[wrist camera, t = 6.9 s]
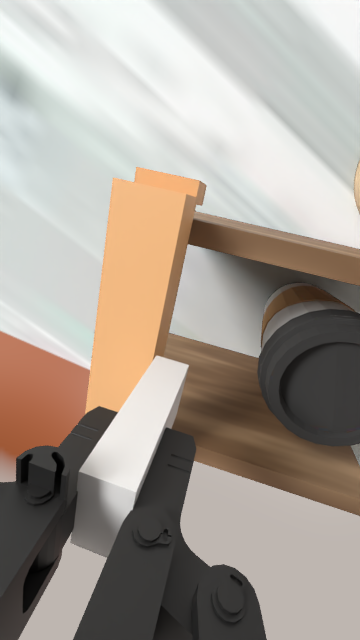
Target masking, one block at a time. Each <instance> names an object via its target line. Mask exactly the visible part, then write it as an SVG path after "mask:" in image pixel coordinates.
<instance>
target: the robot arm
mask: <svg viewBox="0 0 360 640" xmlns="http://www.w3.org/2000/svg"><path fill="white" fill-rule="evenodd" d="M188 367H189V365H187V364H184V363H180V362H177V361H174V360H170V359H167V358H164V357H160V356H157V355H156V357H155V358H154V360H153V361H152V363H151V364H150V366H149V367H148V369H147V370H146V372H145V373H144V375H143V376H142V378H141V379H140V381H139V382H138V384H137V385H136V387H135V388H134V390H133V391H132V393H131V394H130V396H129V397H128V399H127V400H126V402H125V403H124V405H123V406H122V408H121V409H120V410H119V412H116V411H113V410H110V409H107V408H104V407H101V406H98V407H96V408H95V409H93V410H91V411H89V412H87V413H86V414H85V416H84V417H83V418H82V419H81V420H80V421H79V423H78V425H76V426H75V428H74V429H73V430H72V431H71V433H70V434H69V435H68V436H67V437H66V438H65V440H64V441H63V442H62V443H61V444H60V446H59V447H53V446H39V447H35V448H32V449H29V450H27V451H25V452H24V453H22V454H21V455H20V456H19V457H17V459H16V481H15V482H4V483H3V482H0V640H18V639H19V637H20V635H21V633H22V631H23V629H24V628H25V626H26V624H27V622H28V620H29V618H30V617H31V615H32V613H33V611H34V609H35V607H36V606H37V604H38V602H39V600H40V598H41V596H42V595H43V593H44V591H45V589H46V587H47V585H48V583H49V582H50V580H51V578H52V576H53V575H54V573H55V571H56V569H57V567H58V565H59V562H60V559H61V555H62V548H63V546H64V545H65V543H66V541H67V539H68V538H69V536H70V534H71V532H72V534H71V543H72V544H74V545H77V546H79V547H82V548H85V549H87V550H89V551H92V552H94V553H97V554H99V555H102V556H104V557H107V560H106V563H105V565H104V568H103V570H102V572H101V575H100V577H99V580H98V582H97V584H96V587H95V589H94V592H93V594H92V596H91V599H90V601H89V603H88V606H87V608H86V610H85V613H84V615H83V617H82V620H81V622H80V624H79V627H78V629H77V632H76V634H75V637H74V639H73V640H267V639H266V634H265V630H264V625H263V620H262V615H261V610H260V605H259V602H258V599H257V596H256V593H255V590H254V588H253V587H252V586H251V584H250V582H249V581H248V580H247V578H246V577H245V576H244V575H243V574H241V573H240V572H239V571H238V570H236V569H235V568H233V567H230V566H227V565H224V564H223V565H215V566H212V567H210V566H208V565H207V564H206V563H205V562H204V561H202V560H201V559H200V558H199V557H198V556H196V555H195V554H194V553H193V552H192V551H191V550H190V549H189V547H188V546H187V544H186V543H185V541H184V538H183V536H182V533H181V529H180V517H181V512H182V508H183V504H184V500H185V495H186V491H187V487H188V483H189V479H190V474H191V470H192V466H193V462H194V457H195V453H196V445H195V441H194V437H193V436H191V435H188V434H185V433H182V432H179V431H176V430H173V429H171V428H172V426H173V423H174V420H175V418H176V415H177V411H178V407H179V403H180V399H181V395H182V391H183V387H184V383H185V379H186V375H187V371H188Z"/></svg>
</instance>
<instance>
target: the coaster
mask: <svg viewBox="0 0 360 640" xmlns="http://www.w3.org/2000/svg"><path fill="white" fill-rule="evenodd" d="M354 196H355V201H356V206H357V208H358V211H359V213H360V160H359V163H358V166H357V169H356V174H355V179H354Z"/></svg>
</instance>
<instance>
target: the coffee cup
mask: <svg viewBox="0 0 360 640" xmlns="http://www.w3.org/2000/svg"><path fill="white" fill-rule="evenodd" d="M261 349H262V351H261V354H260V356H259V361H258V369H257V375H258V380H259V386H260V389H261V392H262V396H263V398H264V400H265V402H266V404H267V406H268V408H269V410H270V411H271V412H272V413H273V414H274V415H275V417H276V418H277V419H278V420H279V421H280V422H281V423H282V424H283V425H284V426H285V428H286V429H287V430H289V431H290V432H292V433H294V434H295V435H297V436H298V437H300V438H302V439H304V440H307V441H310V442H312V443H315V444H321V445H327V446H351V445H355V444H359V443H360V314H359V313H356V312H355V311H354V310H353V309H352V308H350V307H349V306H347V305H346V304H344V303H343V302H341V301H340V300H338V299H337V298H335V297H334V296H332V295H330V294H329V293H327V292H326V291H324V290H322V289H319V288H318V287H316V286H314V285H311V284H308V283H292V284H288V285H285V286H283V287H281V288H279V289H278V290H276V291H275V292H274V293H273V294H272V295H271V296H270V298H269V299H268V300H267V303H266V305H265V308H264V316H263V323H262V335H261Z"/></svg>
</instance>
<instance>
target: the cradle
mask: <svg viewBox="0 0 360 640" xmlns="http://www.w3.org/2000/svg"><path fill="white" fill-rule="evenodd" d="M188 244H190V245H194V246H198V247H202V248H206V249H211V250H215V251H219V252H223V253H227V254H231V255H235V256H239V257H243V258H247V259H252V260H256V261H260V262H264V263H268V264H272V265H276V266H280V267H284V268H288V269H293V270H297V271H301V272H305V273H309V274H313V275H317V276H321V277H325V278H329V279H334V280H338V281H342V282H346V283H350V284H354V285H358V286H360V249H357V248H352V247H348V246H344V245H339V244H335V243H330V242H326V241H322V240H317V239H313V238H309V237H304V236H300V235H296V234H291V233H287V232H283V231H278V230H274V229H270V228H265V227H261V226H256V225H252V224H248V223H243V222H239V221H235V220H230V219H226V218H222V217H217V216H213V215H209V214H204V213H200V212H196V211H195V212H194V217H193V222H192V226H191V231H190V235H189V240H188ZM163 357H164V358H167V359H170V360H174V361H177V362H180V363H184V364H187V365H189V367H188V371H187V375H186V379H185V383H184V387H183V391H182V395H181V399H180V403H179V407H178V411H177V415H176V418H175V420H174V423H173V426H172V428H171V429H173V430H176V431H179V432H182V433H185V434H188V435H191V436H193V437H194V441H195V445H196V453H195V457H194V461H197V462H200V463H203V464H206V465H209V466H212V467H215V468H218V469H221V470H224V471H227V472H230V473H233V474H236V475H239V476H242V477H245V478H248V479H251V480H254V481H257V482H260V483H263V484H266V485H269V486H272V487H275V488H278V489H281V490H284V491H287V492H290V493H293V494H296V495H299V496H302V497H305V498H308V499H311V500H314V501H317V502H320V503H323V504H326V505H329V506H332V507H335V508H338V509H341V510H344V511H347V512H350V513H353V514H356V515H359V516H360V466H359V464H358V462H357V459H356V457H355V455H354V453H353V450H352V448H351V446H327V445H321V444H315V443H312V442H310V441H307V440H304V439H302V438H300V437H298V436H297V435H295V434H294V433H292V432H290V431H289V430H287V429H286V428H285V426H284V425H283V424H282V423H281V422H280V421H279V420H278V419H277V418H276V417H275V415H274V414H273V413H272V412H271V411H270V410H269V408H268V406H267V404H266V402H265V400H264V398H263V396H262V392H261V389H260V386H259V380H258V375H257V369H258V361H259V358H256V357H252V356H249V355H245V354H241V353H238V352H234V351H231V350H227V349H224V348H220V347H217V346H213V345H210V344H206V343H203V342H199V341H196V340H192V339H188V338H185V337H181V336H178V335H174V334H171V333H168V338H167V342H166V347H165V352H164V356H163Z"/></svg>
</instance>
